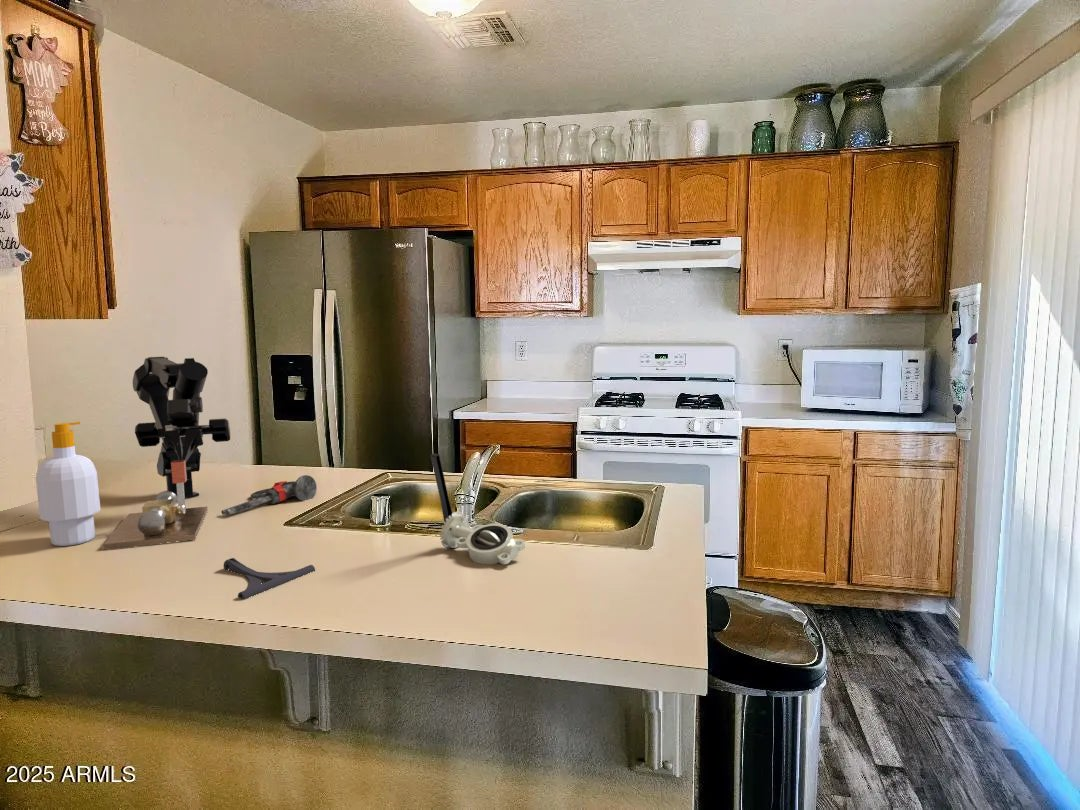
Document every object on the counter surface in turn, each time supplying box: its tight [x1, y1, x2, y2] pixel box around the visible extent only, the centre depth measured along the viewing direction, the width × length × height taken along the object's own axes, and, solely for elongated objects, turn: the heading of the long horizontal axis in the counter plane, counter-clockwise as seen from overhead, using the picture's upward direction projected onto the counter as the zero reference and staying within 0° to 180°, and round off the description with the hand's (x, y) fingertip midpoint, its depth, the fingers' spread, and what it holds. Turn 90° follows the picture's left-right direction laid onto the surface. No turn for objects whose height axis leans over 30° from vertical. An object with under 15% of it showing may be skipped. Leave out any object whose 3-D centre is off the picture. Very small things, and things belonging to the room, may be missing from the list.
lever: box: [171, 460, 187, 514], centre depth 148 cm, size 2×2×12 cm
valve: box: [220, 474, 318, 517], centre depth 168 cm, size 6×26×15 cm
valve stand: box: [103, 490, 209, 551], centre depth 147 cm, size 22×16×6 cm
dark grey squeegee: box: [223, 557, 316, 600], centre depth 121 cm, size 14×15×3 cm
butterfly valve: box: [430, 452, 526, 565], centre depth 127 cm, size 9×20×17 cm
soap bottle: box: [35, 421, 101, 547], centre depth 139 cm, size 10×10×24 cm
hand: (182, 463), depth 152 cm, fingers closed
